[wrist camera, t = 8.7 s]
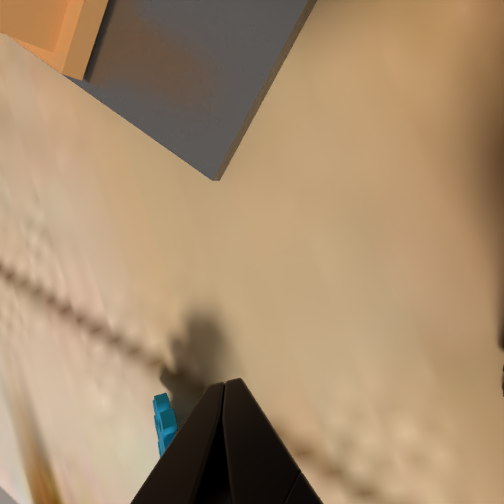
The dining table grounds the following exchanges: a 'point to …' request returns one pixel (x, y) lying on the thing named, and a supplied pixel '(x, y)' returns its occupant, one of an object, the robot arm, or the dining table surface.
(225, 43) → the plate
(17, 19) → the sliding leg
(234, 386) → the robot arm
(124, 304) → the dining table surface
